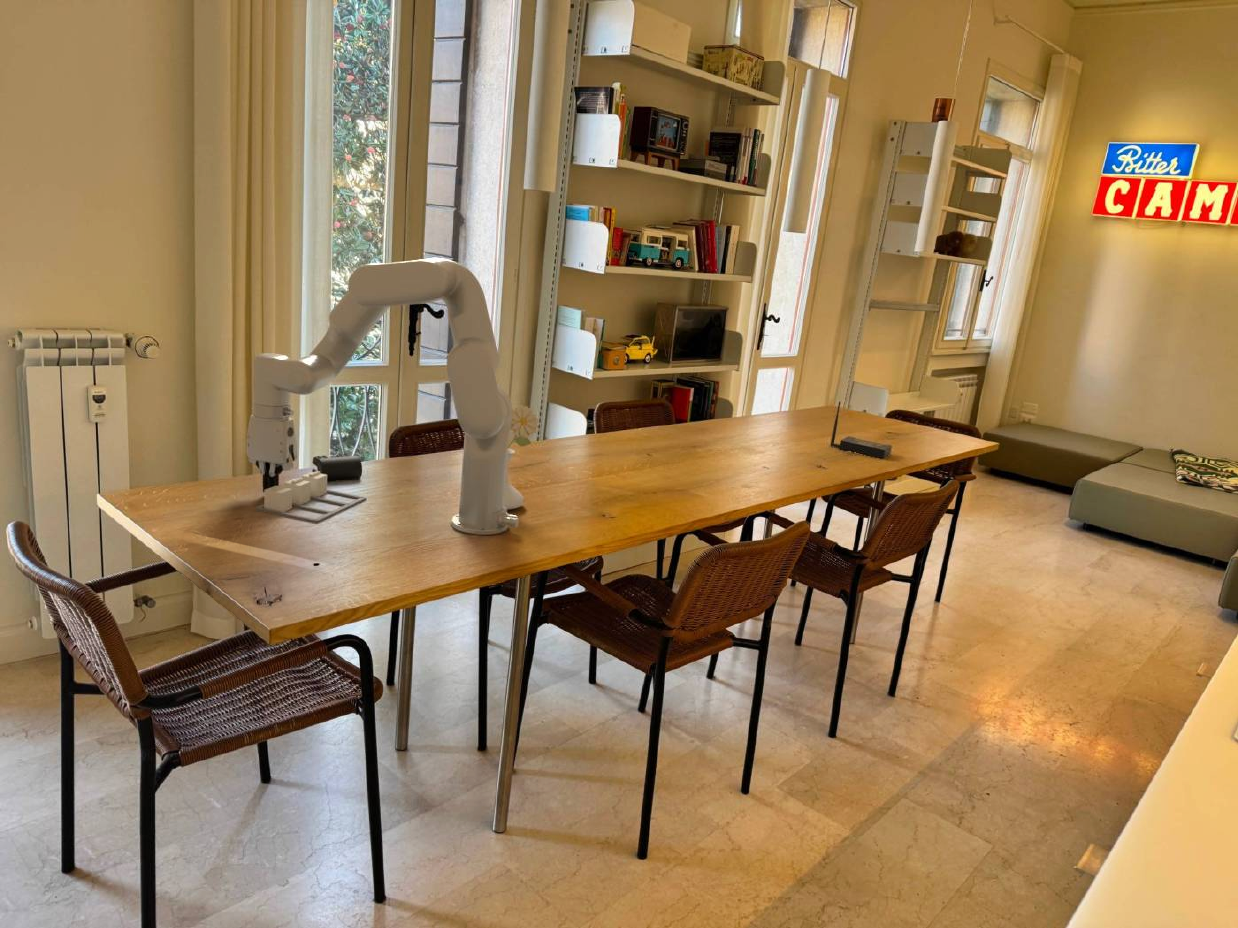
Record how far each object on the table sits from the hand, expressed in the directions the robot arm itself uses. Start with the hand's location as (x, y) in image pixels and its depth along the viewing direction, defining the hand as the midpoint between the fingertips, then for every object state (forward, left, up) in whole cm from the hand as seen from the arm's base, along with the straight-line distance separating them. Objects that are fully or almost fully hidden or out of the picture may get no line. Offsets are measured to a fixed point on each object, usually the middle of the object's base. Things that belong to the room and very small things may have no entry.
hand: (270, 491), depth 194 cm
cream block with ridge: (-7, 0, -1) cm, 7 cm away
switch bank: (-9, 0, -2) cm, 9 cm away
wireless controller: (-128, -160, -3) cm, 205 cm away
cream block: (-7, +6, -1) cm, 9 cm away
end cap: (-4, -20, -3) cm, 21 cm away
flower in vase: (-45, -27, -3) cm, 52 cm away
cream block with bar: (-7, -7, -1) cm, 9 cm away
